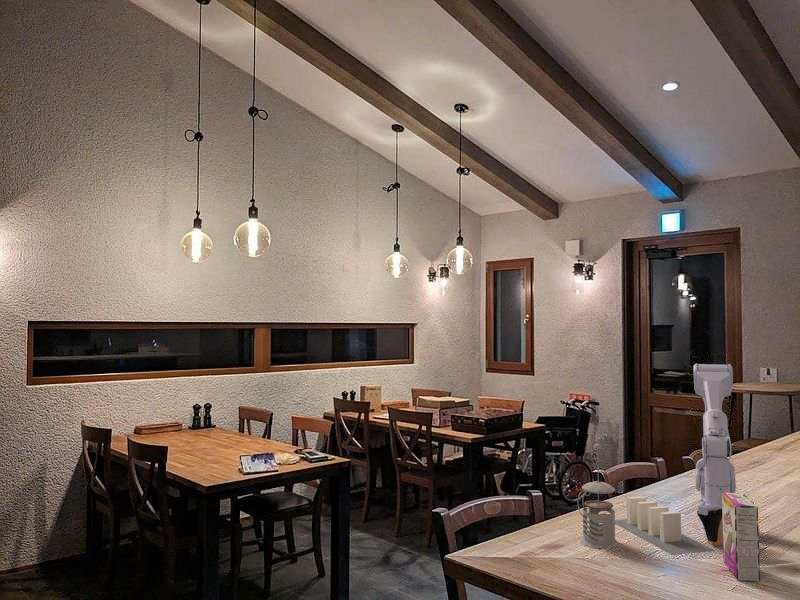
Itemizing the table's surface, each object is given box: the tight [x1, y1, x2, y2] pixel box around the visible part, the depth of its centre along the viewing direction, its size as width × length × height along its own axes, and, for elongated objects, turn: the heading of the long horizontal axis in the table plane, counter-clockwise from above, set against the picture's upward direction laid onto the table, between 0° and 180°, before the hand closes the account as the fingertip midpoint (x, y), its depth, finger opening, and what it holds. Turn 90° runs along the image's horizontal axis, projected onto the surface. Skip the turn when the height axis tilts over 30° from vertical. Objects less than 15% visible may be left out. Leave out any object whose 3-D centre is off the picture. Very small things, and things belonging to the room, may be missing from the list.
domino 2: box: [637, 500, 658, 530], centre depth 180 cm, size 2×5×7 cm, turn 103°
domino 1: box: [626, 495, 647, 525], centre depth 185 cm, size 2×5×7 cm, turn 103°
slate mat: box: [614, 518, 716, 556], centre depth 175 cm, size 28×12×1 cm, turn 13°
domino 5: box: [707, 519, 723, 546], centre depth 168 cm, size 2×5×7 cm, turn 103°
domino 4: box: [660, 510, 682, 542], centre depth 170 cm, size 2×5×7 cm, turn 103°
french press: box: [577, 443, 619, 550], centre depth 171 cm, size 10×12×25 cm
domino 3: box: [648, 505, 670, 536], centre depth 175 cm, size 2×5×7 cm, turn 103°
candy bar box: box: [722, 492, 761, 583], centre depth 150 cm, size 11×5×16 cm, turn 168°
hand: (718, 538), depth 168 cm, fingers closed on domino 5, 5 cm apart
